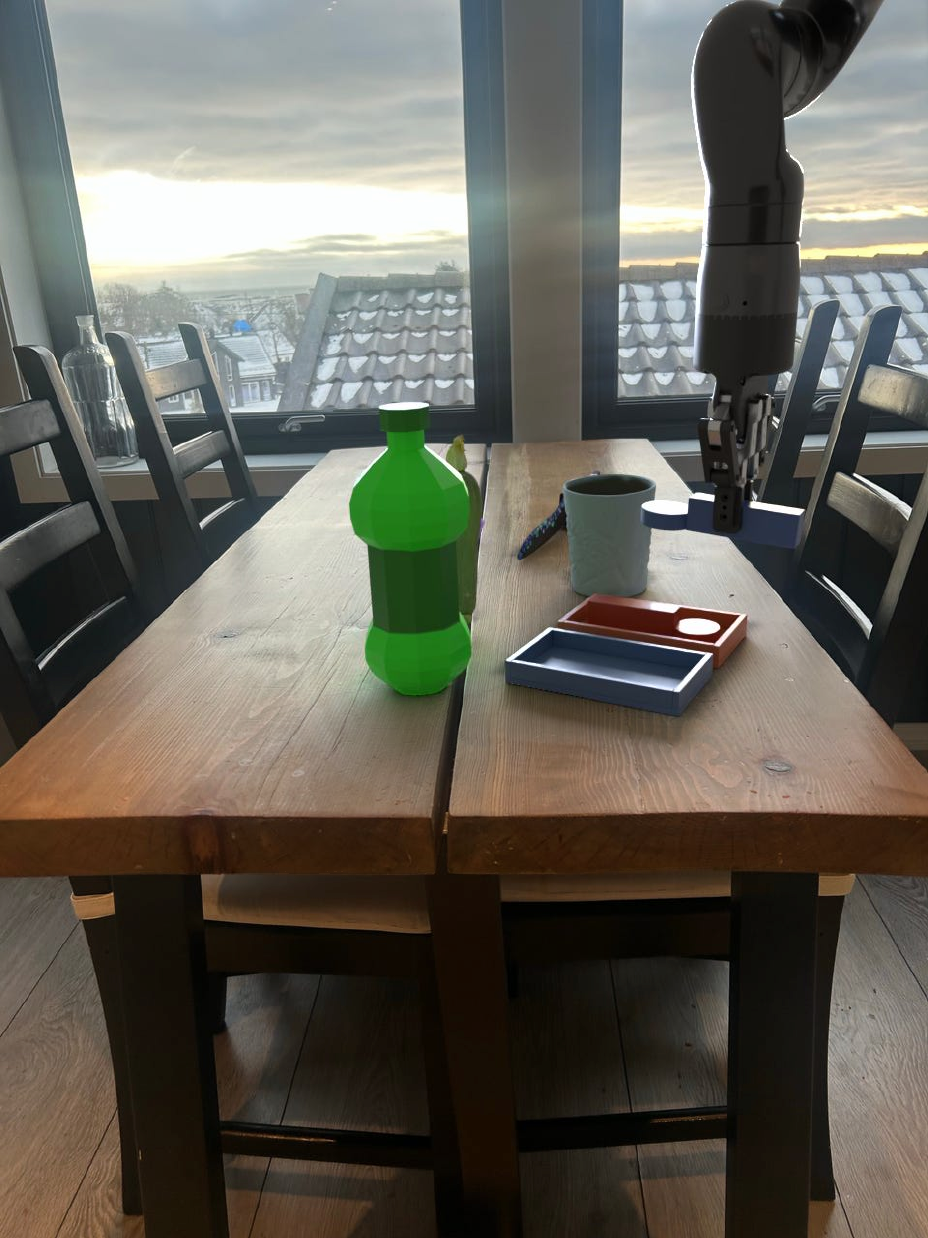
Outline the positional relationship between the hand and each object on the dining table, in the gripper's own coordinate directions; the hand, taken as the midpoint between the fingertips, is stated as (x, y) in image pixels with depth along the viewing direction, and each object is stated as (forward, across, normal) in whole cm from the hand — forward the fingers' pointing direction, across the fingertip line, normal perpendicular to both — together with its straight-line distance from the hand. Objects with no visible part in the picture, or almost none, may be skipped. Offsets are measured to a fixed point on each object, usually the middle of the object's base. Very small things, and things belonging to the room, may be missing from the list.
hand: (731, 526), depth 82 cm
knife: (+15, +40, +35) cm, 55 cm away
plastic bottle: (+15, -11, +24) cm, 31 cm away
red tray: (+15, +8, +10) cm, 20 cm away
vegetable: (+15, +4, +28) cm, 33 cm away
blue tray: (+15, -2, +10) cm, 18 cm away
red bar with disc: (+14, +8, +10) cm, 19 cm away
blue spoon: (+1, 0, +1) cm, 1 cm away
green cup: (+15, +21, +20) cm, 33 cm away
